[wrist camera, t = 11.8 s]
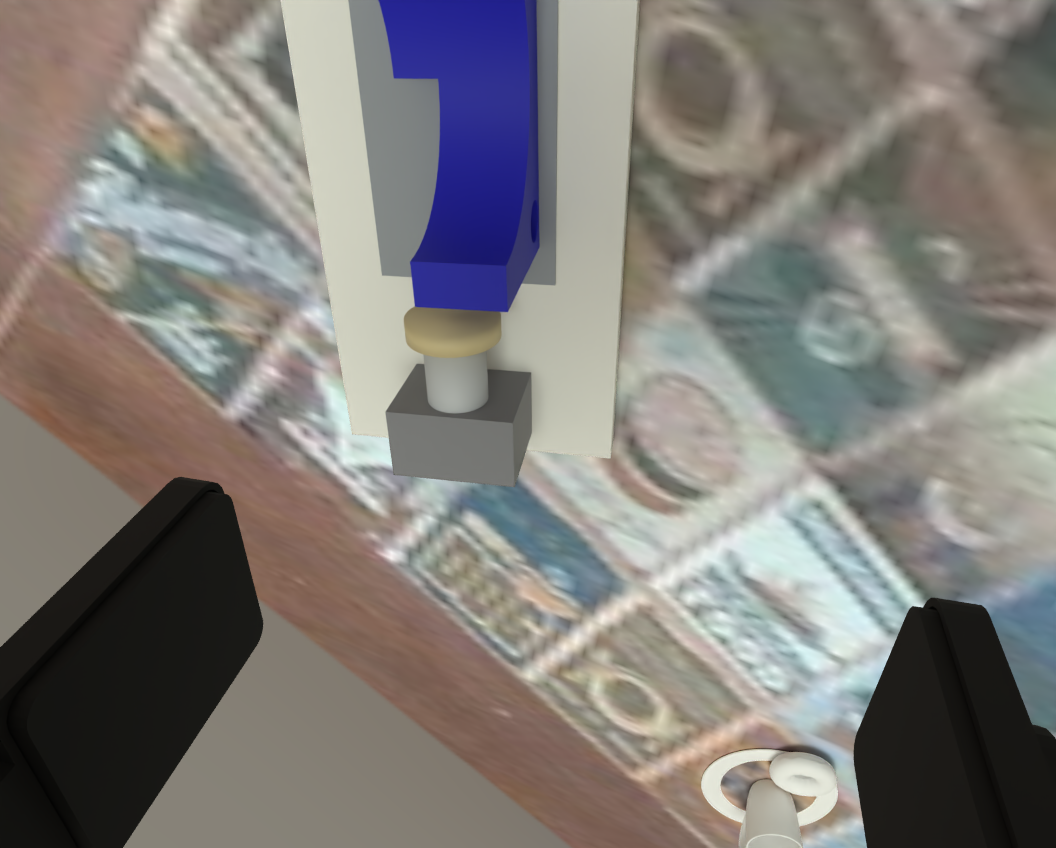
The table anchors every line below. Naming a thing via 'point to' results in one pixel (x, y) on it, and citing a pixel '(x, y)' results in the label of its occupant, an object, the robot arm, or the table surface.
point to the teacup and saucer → (774, 796)
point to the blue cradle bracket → (475, 145)
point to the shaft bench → (401, 221)
